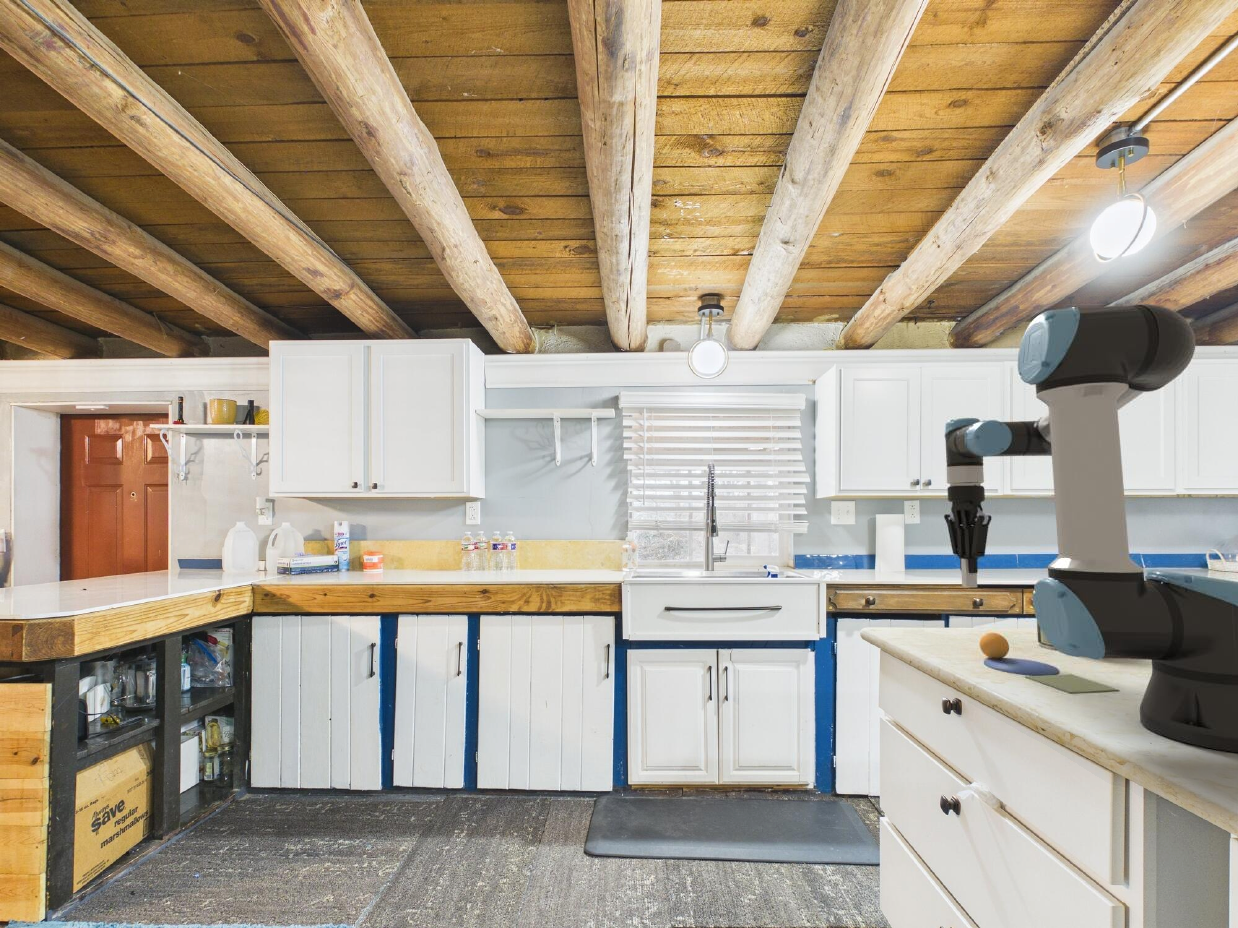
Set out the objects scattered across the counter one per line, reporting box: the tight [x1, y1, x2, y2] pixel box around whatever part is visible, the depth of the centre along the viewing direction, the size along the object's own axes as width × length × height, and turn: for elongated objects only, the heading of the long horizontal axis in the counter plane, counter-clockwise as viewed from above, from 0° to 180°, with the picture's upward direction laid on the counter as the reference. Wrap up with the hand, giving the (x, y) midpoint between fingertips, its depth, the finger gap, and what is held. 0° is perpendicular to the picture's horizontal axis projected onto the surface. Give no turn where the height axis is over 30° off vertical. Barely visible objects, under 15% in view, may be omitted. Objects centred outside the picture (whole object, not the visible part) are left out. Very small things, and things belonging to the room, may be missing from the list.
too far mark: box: [1024, 673, 1121, 694], centre depth 114 cm, size 10×10×1 cm
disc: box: [983, 657, 1060, 676], centre depth 126 cm, size 13×13×1 cm
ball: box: [978, 632, 1010, 659], centre depth 133 cm, size 6×6×6 cm
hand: (969, 586), depth 141 cm, fingers closed
